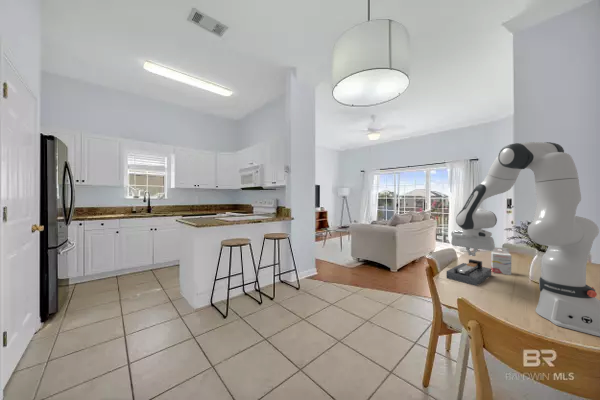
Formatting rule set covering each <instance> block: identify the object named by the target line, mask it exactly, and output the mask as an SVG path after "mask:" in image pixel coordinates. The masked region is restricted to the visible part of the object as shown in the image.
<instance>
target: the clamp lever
mask: <svg viewBox="0 0 600 400" xmlns="http://www.w3.org/2000/svg"><path fill="white" fill-rule="evenodd" d="M466 264H467V265H465V266H464V267H462V268H460V269H457V272H458V273H462V274H466V271H468V270H469V271H470V272H471V271H473V270H474V269H476V268H478V264H476V263H471V262H470V263H469V262H468V263H466Z"/></svg>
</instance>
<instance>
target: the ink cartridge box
mask: <svg viewBox="0 0 600 400" xmlns="http://www.w3.org/2000/svg"><path fill="white" fill-rule="evenodd" d="M490 252H491V253H490V255H491V256H490V259H491V260H490V264H491V265H490V268H491V270H492V271H491V273H493V272H495V273H494V274H500V273H503V275H510V276H512V254H511V253H510V249H509V248H508V247H507V248H506V247H495V249H494V250H492V251H490Z"/></svg>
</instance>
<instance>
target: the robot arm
mask: <svg viewBox="0 0 600 400" xmlns="http://www.w3.org/2000/svg"><path fill="white" fill-rule="evenodd" d="M573 159H574V158H573V157H572V156H571V155H570V154H569V153H567V152H565V149H564V147H562V146H561V145H560V144H558V143H555V142H547V141H545V142H540V141H539V142H535V141H529V142H527V141H526V142H520V143H517V142H516V143H515V142H514V143H511V144H507V145H505V146H504V147H502V149H500V151H499V153H498V155H497V156H496V158H495V159H494V160H493V162H492V164H491V165H490V167H489V169H488V171H487V174H486V175H485V178H484V179H483V181H481V182H480V183H479V184H478V185H477V186H475V187H474V188H473V190H472V191H471V193H470V195H469V197H468V199H467V200H466V202H465V203H464V205H463V206H462V208H461V210H460V211H459V212H458V213H457V215H456V217H455V222H456V224H457V226H458V227H460V228H461V230H453V231H452V232H451V233H450V234H451V240H450V241H451V242H450V243H451V245H452V246H453V247H461V248H465V250H466V252H468V253H467V254H468V256H472V257H475V256H476V254H477V252H478V251H479V250H483V251H489V252H492V250H494V249H495V245H496V244H495V240H494V238H493V237H492V235H493V233H492V232H490V231H487V230H485V229H491V228H494V227H495V226H496V225H497V222H498V218H497V216H496V214H495V213H494V212H492V211H490V210H486V209H484V208H483V207H481V204H482V203H483V202H484V201H485V200H487V199H489V198H491V197H494V196H497V195H501V194H504V193H506V192H508V191H510V190H511V189H512V188H513V186H514V185H515V183H516V181H517V179H518V177H519V175H520V172H522V170H525V169H529V170H531V171H532V172H533V175H534V183H535V192H536V208H535V212H534V216H533V220H532V221H531V223H529V225H528V226H527V229H526V230H527V235H528V237H529V238H530V239H531V240H532V242H534V243H535V244H537V245H541V246H546V247H547V249H546V250H545V253H544V254H543V255H542V256H541V260H540V262H541V263H540V267H541V269H540V272H541V274H540V277H539V279H538V280H539V282H538V286H539V287H538V288H539V291H540V293H539V299H538V302H537V306H536V308H535V313H537V315H539V316H540V317H542V318H544V319H546V320H548V321H550V322H551V323H552V324H554V325H556V326H557V327H561V328H565V329H570V330H573V331H577V332H581V333H583V334H584V333H585V334H588V335H593V336H597V337H600V299H598V298H597V296H598V294H597V292H596V289H595V287H593V286H592V287H591V286H590V285H588V284H587V264H588V260H589V256H590V253H591V250H592V246H593V243H594V241H595V239H596V238H597V237H598V236H599V233H600V227H599V226H598V225H597V223H595V222H594V221H593V220H591V219H588V218H586V217H581V216H578V215H576V213H577V212H576V211H577V208H578V206H579V204H580V203H581V201H582V194H581V187H580V186H581V185H580V180H579V175H578V169H577V167H576V163H575V162H574V160H573ZM471 249H473V252H472V250H471Z"/></svg>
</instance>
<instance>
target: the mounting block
mask: <svg viewBox="0 0 600 400" xmlns="http://www.w3.org/2000/svg"><path fill="white" fill-rule="evenodd" d="M470 262H471V263H476V264H478V268H476V269H474V270H473V271H471V272H470V271H469V270H468V271H466V274H462V273H458V272H457V269H460V268H462V267H464V266H465V265H467V264H468V263H470ZM468 263H465V262H462V263H460V264H458V265H456V266H454V267H452V268H450V269H448V270H446V279H449V280H452V281H456V282H461V283H465V284H468V285H471V286H476V287H477V286H478V285H480V284H481V283H483V282H484V281H485V280H487V279H489V278H491V276H492V271H491V267H484V266H483V261H482V260H476V259H471V258H470V259H468ZM488 277H489V278H488Z"/></svg>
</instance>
